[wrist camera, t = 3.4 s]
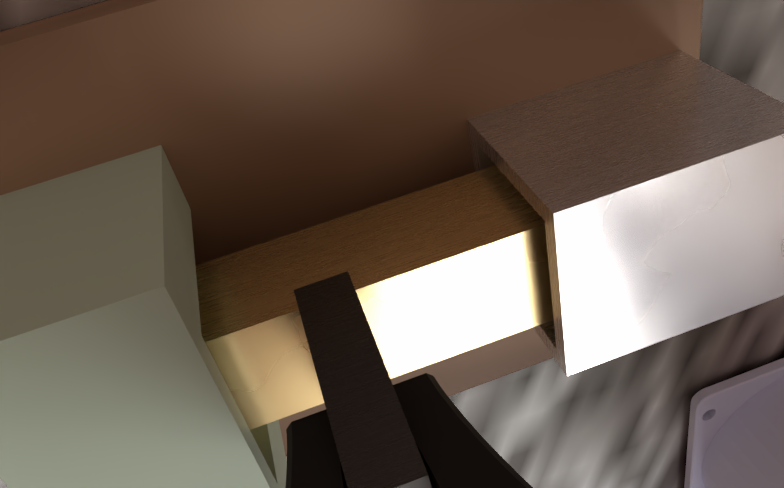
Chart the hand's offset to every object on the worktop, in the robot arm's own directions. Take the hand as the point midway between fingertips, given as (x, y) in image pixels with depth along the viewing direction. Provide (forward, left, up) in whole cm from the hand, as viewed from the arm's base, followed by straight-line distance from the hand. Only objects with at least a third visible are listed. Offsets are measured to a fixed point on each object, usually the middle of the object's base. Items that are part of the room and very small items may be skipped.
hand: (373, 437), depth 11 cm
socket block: (0, +4, -5) cm, 7 cm away
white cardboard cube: (0, -7, -5) cm, 8 cm away
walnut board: (0, -2, -6) cm, 7 cm away
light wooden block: (0, -1, -5) cm, 5 cm away
